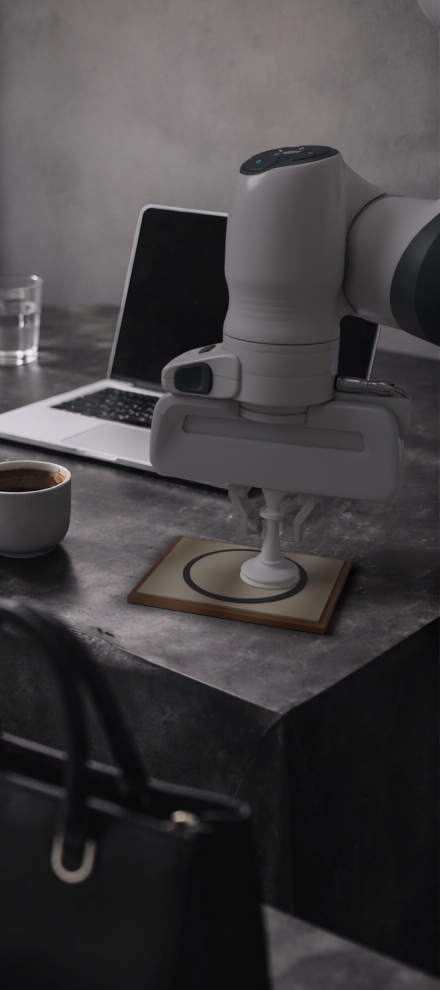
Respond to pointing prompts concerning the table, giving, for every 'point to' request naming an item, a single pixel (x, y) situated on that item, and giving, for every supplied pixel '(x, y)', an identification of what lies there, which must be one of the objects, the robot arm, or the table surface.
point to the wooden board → (241, 586)
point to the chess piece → (270, 551)
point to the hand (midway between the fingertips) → (271, 536)
